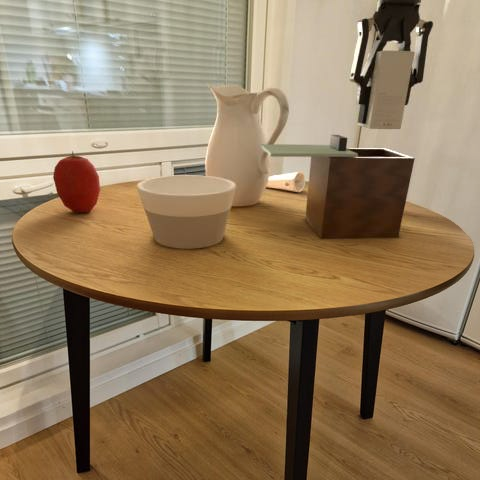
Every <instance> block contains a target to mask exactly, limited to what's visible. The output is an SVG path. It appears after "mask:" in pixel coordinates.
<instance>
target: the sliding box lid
mask: <svg viewBox="0 0 480 480" xmlns="http://www.w3.org/2000/svg"><path fill="white" fill-rule="evenodd" d="M347 145H348V137H346V136H343V135H340V134H330V139H329V144H279V143H278V144H275V143H274V144H261V148H262V149H263V150H264V151H265V152H267V153H268V154H269V155H270V158H272V157H273V158H274V157H275V158H276V157H277V158H278V157H282V158H285V157H287V158H289V157H290V158H294V157H295V158H296V157H297V158H311V157H358V154H357V153H355V152H353V151H350V150H348V149H346V148H347Z"/></svg>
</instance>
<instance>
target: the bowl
mask: <svg viewBox="0 0 480 480" xmlns="http://www.w3.org/2000/svg"><path fill="white" fill-rule="evenodd" d="M136 189H137V192H138V195H139V198H140V201H141V205H142V206H143V208H144V212H145V215H146V217H147V221H148V224H149V227H150V229H151V230H150V231H151V232H152V235H153V239H154V240H155V242H156V243H157V244H159V245H162V246H164V247H168V248H173V249H183V250H184V249H185V250H187V249H188V250H189V249H191V250H192V249H193V250H194V249H202V248H208V247H212V246H214V245H215V246H216V245H217V244H219V243H220V242H222V241H223V239H224V237H225V236H224V235H225V232H226V228H227V224H228V220H229V216H230V213H231V209H232V206H231V205H232V201H233V197H234V193H235V190H236V184H235V183H234V182H232V181H230V180H227V179H223V178H219V177H212V176H206V175H199V174H175V175H162V176H156V177H151V178H147V179H144V180H141V181H139V182H138V183H137V184H136Z"/></svg>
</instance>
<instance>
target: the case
mask: <svg viewBox="0 0 480 480" xmlns="http://www.w3.org/2000/svg"><path fill="white" fill-rule="evenodd" d="M346 149H348V150H350V151H353V152H355V153H357V154H358V157H310V164H309V165H310V166H309V176H308V186H307V196H306V207H305V217H304V220H305V221H306V223H307V224H308V225H309V226H310V227H311V229H312V230H313V231H314V232H315V233H316V234H317V235H318V236H319V238H320V239H369V238H371V239H372V238H373V239H374V238H378V239H379V238H399V236H400V231H401V226H402V222H403V217H404V212H405V207H406V202H407V198H408V192H409V188H410V183H411V178H412V173H413V169H414V164H415V158H416V157H413V156H410V155H406V154H404V153H401V152H398V151H394V150H392V149H388V148H385V147H384V148H381V147H380V148H378V147H377V148H375V147H374V148H373V147H371V148H370V147H368V148H367V147H352V148H351V147H346Z"/></svg>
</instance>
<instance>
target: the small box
mask: <svg viewBox="0 0 480 480" xmlns="http://www.w3.org/2000/svg"><path fill="white" fill-rule="evenodd" d="M414 53H415V51H398V50H382V51H380V52H377V55H376V61H375V67H374V71H373V73H372V76H371V78H370V80H369V83H368V84H367V86H372V88H371V94H370V101H369V107H368V113H367V120H366V124H361V123H358V122H357V126H360V127H362V128H367V129H369V130H401V128H402V125H403V124H402V123H403V117H404V112H405V108H406V107H405V106H406V105H405V102H406V96H407V91H408V86H409V80H410V75H411V69H413V60H414ZM369 55H370V52H368V54H367V59H368V57H369ZM367 59H366V60H367Z"/></svg>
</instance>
